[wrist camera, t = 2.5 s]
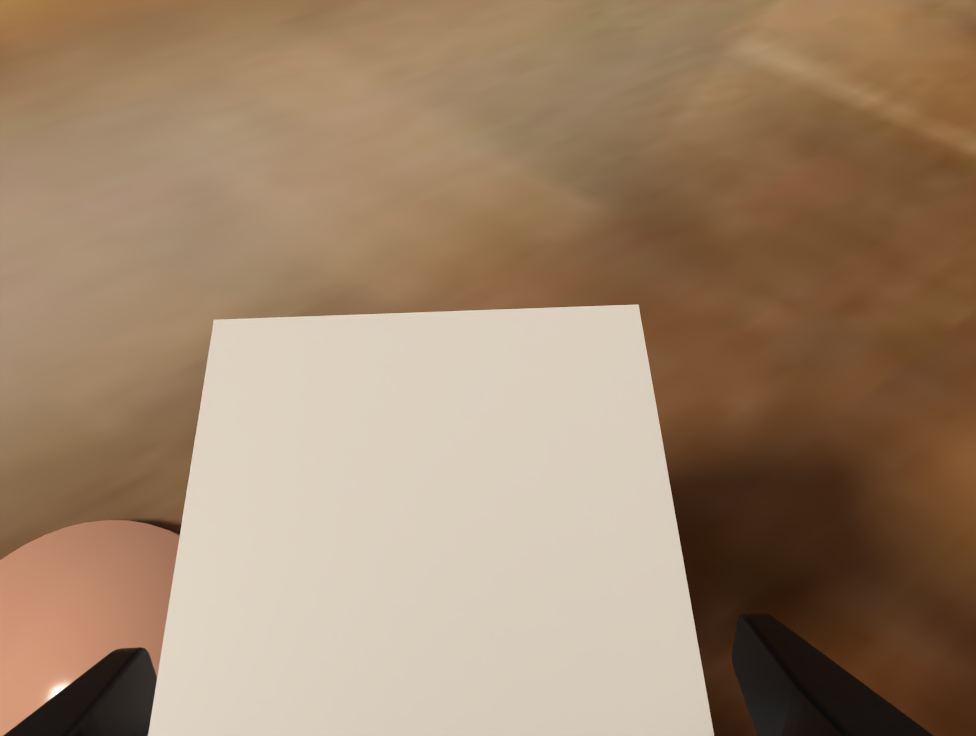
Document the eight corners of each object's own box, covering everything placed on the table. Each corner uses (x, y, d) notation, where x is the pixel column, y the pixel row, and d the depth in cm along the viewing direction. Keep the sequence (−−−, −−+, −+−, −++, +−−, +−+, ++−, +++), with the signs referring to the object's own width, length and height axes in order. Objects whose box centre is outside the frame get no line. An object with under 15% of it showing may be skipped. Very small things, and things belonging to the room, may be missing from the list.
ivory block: (555, 682, 16) (728, 818, 5) (372, 692, 16) (128, 856, 5) (540, 499, 18) (638, 304, 7) (377, 507, 18) (214, 319, 7)
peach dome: (314, 613, 17) (309, 613, 16) (97, 986, 14) (81, 1001, 13) (76, 472, 18) (64, 467, 18) (-170, 775, 15) (-195, 781, 15)
